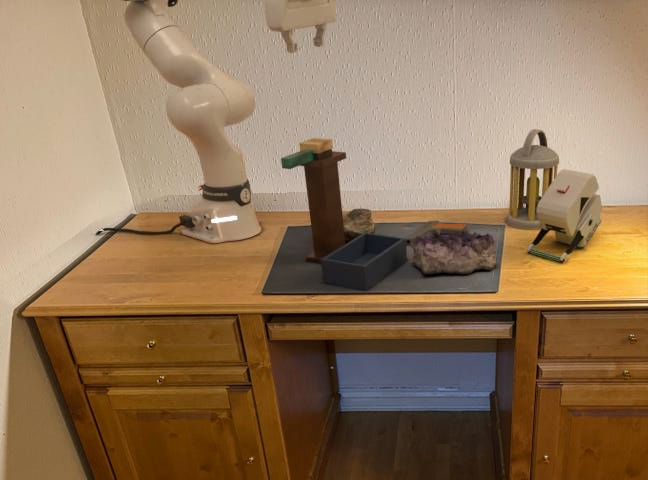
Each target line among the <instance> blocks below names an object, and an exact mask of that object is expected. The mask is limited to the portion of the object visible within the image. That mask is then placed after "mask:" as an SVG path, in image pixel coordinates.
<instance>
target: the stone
mask: <svg viewBox="0 0 648 480" xmlns="http://www.w3.org/2000/svg"><path fill="white" fill-rule="evenodd" d="M342 215H343V226H344V236H345V241H347V242H350V241H352V240H353V239H355V238H357V237H358V236H360V235H362V234H363V233H372V234H376V225H375V222H374V219H372V210H371V209H368V208H353V209H352V210H350V211H348V212H345V213H344V214H342Z"/></svg>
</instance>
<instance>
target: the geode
mask: <svg viewBox="0 0 648 480" xmlns="http://www.w3.org/2000/svg"><path fill="white" fill-rule="evenodd" d="M410 247H411V248H412V250H413V253H412V260H411V263H412V265H414V266H415V267H417V268H418V269H420V271H421V273H422V274H424V275H434V274H442V273H446V274H450V275H451V274H457V275H469V274H471V273H473V272H474V271H479V270H486V271H493V270H494V269H496V266H497V260H496V254H497V250H496V246H495V239H494V237H493V235H491V234H490V233H488V232H487V233H486V234H483V235H482V234H480V233H478V232H476V231H474V232H473V234H472V233H470V232H467V230H466V231H462V233H461V235H459V234H458V232H456V233H453V234H451V235H449V234H435V235H430V234H426V235H424V236H423V238H421V237H415V238H412V240H411V245H410Z"/></svg>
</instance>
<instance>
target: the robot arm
mask: <svg viewBox="0 0 648 480" xmlns="http://www.w3.org/2000/svg"><path fill="white" fill-rule="evenodd" d="M122 1H123V2H129V3H128V5H127V6H126V8H125V10H124V13H123V17H124V22H125V24H126V27H127V28H128V30H129V32H130V34H131V36H132V38H133V40H134V41H135V43H136V44H137V45H138V47H139V49H140V50H141V51H142V53H143V54H144V55H145V56H146V58H147V60H149V61H150V63H151V64H152V66H153V67H154V68H155V70H156V71H157V72H158V74H159V75H160V76H161V77H162V78H163V79H164V80H165V81H166V82H167V83H169V84H171V85H173V86H175V87H177V88H179V89H178V90H176V91H173V92H172V93H170V94H169V96H168V97H167V99H166V103H165V112H166V117H167V119H168V121H169V122H170V124H171V126H172V127H173V128H174V129H175V130H176V131H178V132H180V133H181V134H182V135H184V136H185V137H186V138H187V139H188V140H189V141H190V143H191V144H192V147H194V150H195V152H196V153H197V157H198V160H199V164H200V167H201V172H202V176H203V181H204V183H203V184H201V185H198V186H197V188H198V191H199V192H200V191H202V193H201V198H199V200H198V201H197V202H196V203H195V204H194V205H193V206H192V207H191V208H190V209H189V210H188V213H187V215H186V214H183V215H180V216H178V219H179V223H177V224H175V225H173V226H172V227H171V229H169V230H168V229H167V230H163V231H152V230H136V229H131V228H116V227H103V228H104V229H103V228H102V229H103V230H104V231H99V230H97V231H96V233H95V234H94V235H95V236H99V235H100V234H101V233H104V232H109V231H110V232H124V233H125V232H126V233H133V234H139V235H168V234H171V233H173V232H175V230H176V229H177V228H180V227H181V226H183V228H182V229H181V231H180V232H181V234H182V235H184V236H187V237H190V238H193V239H197V240H200V241H203V242H206V243H210V244H219V243H224V242H234V241H241V240H246V239H249V238H253V237H255V236H257V235H258V234H260V233H261V232H262V227H261V225H260V221H259V219H258V217H257V214H256V210H255V206H254V203H253V200H252V190H251V183H250V180H249V179H248V176H247V171H246V164H245V163H246V162H245V157H244V153H243V151H242V149H241V148H240V147H238V146H237V145H236V144H234V143H231V142H230V140H229V139H228V137H227V135H226V131H225V127H226V128H227V127H229V126H233V125H237V124H240V123H242V122H243V121H245V120H246V119H248V118H250V117H251V116H252V115H253V113H255V112H254V111H255V108H256V99H255V95H254V92H253V91H252V89H251V87H250V86H249V85H248V84H247V83H246V82H244V81H242V80H239V79H237V78H234V77H232V76H230V75H228V74H227V73H225V72H224V71H222V70H221V69H220V68H218V67H217V66H216V65H215V64H213V63H212V62H210V60H208V59H207V58H206V57H205V56H204V55H203V54H202V53H201V52H200V51H199V49H197V48H196V46H195V45H194V44H193V42H191V40H190V39H189V38H188V37H187V35H186V34H185V33H184V31H183V30H182V29H181V28H180V26H179V25H178V24H177V22H176V21H175V20H174V19H173V17H172V16H171V14H170V12H169V8H173V7H175V6H177V4H178V3H179V0H122ZM264 10H265V11H264V12H265V21H266V25H267V27H268V29H269V30H270V31H271V32H277V33H281V34H280V35H281V37H282V39H283V40H284V42H285V45H286V51H287V53H290V54H294V53H297V52H298V43H296V42H295V40H294V39H293V36H294V31H295V30H300V29H304V28H305V29H306V28H312V27H314V28H315V29H316V31H315V37H312V38H313V46H314V47H315V48H316V47H317V48H320V47H324V44H325V43H324V40H325V39H324V38H325V35H326V32H327V24H331V23H335V22H336V19H337V16H338V15H337V13H338V12H337V5H336V0H264Z"/></svg>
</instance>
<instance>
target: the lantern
mask: <svg viewBox="0 0 648 480" xmlns="http://www.w3.org/2000/svg"><path fill="white" fill-rule="evenodd" d="M536 136H538V141H539V144H533V142H534V140H535V137H536ZM509 164H510V176H509V177H510V179H509V208H508V209H509V210H508V213H507V214H506V216H505V223H507V225H508V226H511V227H513V228H516V229H520V230H521V229H522V230H541V229H542V226H541V224H540V222H539V219H538V217H537V213H536V210H537V205H538V203H539V201H540V200H541V198H542V197H543V195H544V194H545V192H546V191H547V189H548V188H549V186H550V185H551V183H552V182H553V180H554V179H555V177H556V176H557V174H558V167H559V165H560V156H559V154H558V153H557V152H556V151H555V150H553V149H552V148H550V147H549V146H548V139H547V136H546V133H545V132H544V130H542V129H537V128H533V129H531V130H530V131H529V132H528V133H527V135H526V137H525V140H524V142H523V146H522V147H520V148H517V149H516V150H515V151H514V152H513V153H511V154H510V157H509ZM526 170H530V171H529V177H527V180H525V179H526V178H525V177H526ZM538 170H542V171H543V172H542V185H541V186H542V187H541V195H540V184H541V179H540V178H539V177H538ZM525 181H526V189H525ZM525 190H526V191H525ZM525 194H526V195H525ZM524 205H525V207H524Z"/></svg>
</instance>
